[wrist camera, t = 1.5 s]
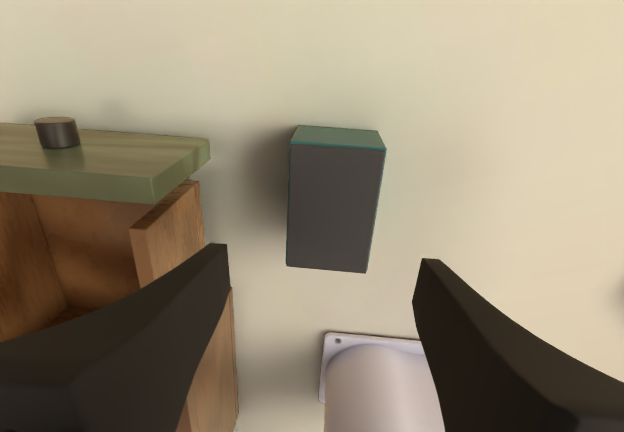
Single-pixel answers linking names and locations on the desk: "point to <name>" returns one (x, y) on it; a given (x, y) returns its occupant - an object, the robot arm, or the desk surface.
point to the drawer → (90, 218)
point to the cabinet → (214, 382)
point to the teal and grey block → (333, 197)
